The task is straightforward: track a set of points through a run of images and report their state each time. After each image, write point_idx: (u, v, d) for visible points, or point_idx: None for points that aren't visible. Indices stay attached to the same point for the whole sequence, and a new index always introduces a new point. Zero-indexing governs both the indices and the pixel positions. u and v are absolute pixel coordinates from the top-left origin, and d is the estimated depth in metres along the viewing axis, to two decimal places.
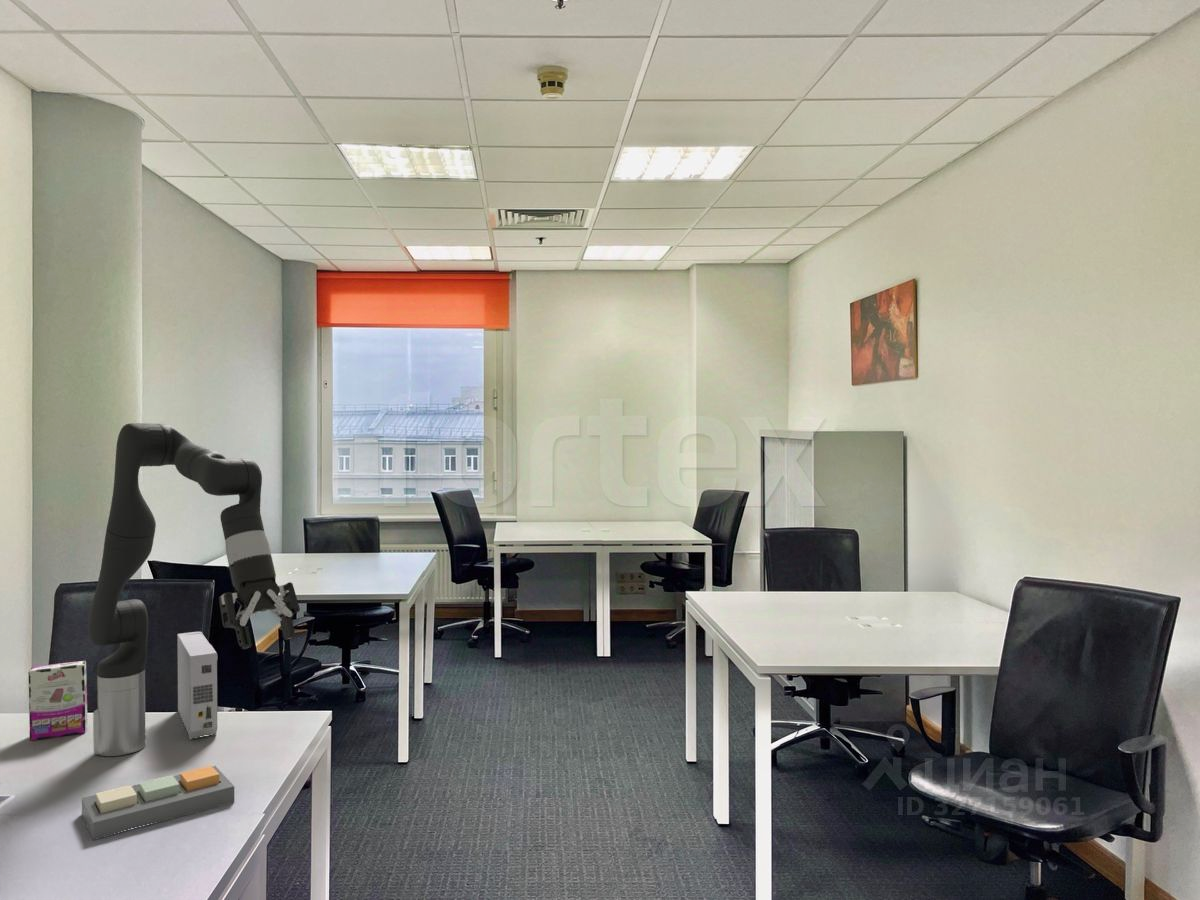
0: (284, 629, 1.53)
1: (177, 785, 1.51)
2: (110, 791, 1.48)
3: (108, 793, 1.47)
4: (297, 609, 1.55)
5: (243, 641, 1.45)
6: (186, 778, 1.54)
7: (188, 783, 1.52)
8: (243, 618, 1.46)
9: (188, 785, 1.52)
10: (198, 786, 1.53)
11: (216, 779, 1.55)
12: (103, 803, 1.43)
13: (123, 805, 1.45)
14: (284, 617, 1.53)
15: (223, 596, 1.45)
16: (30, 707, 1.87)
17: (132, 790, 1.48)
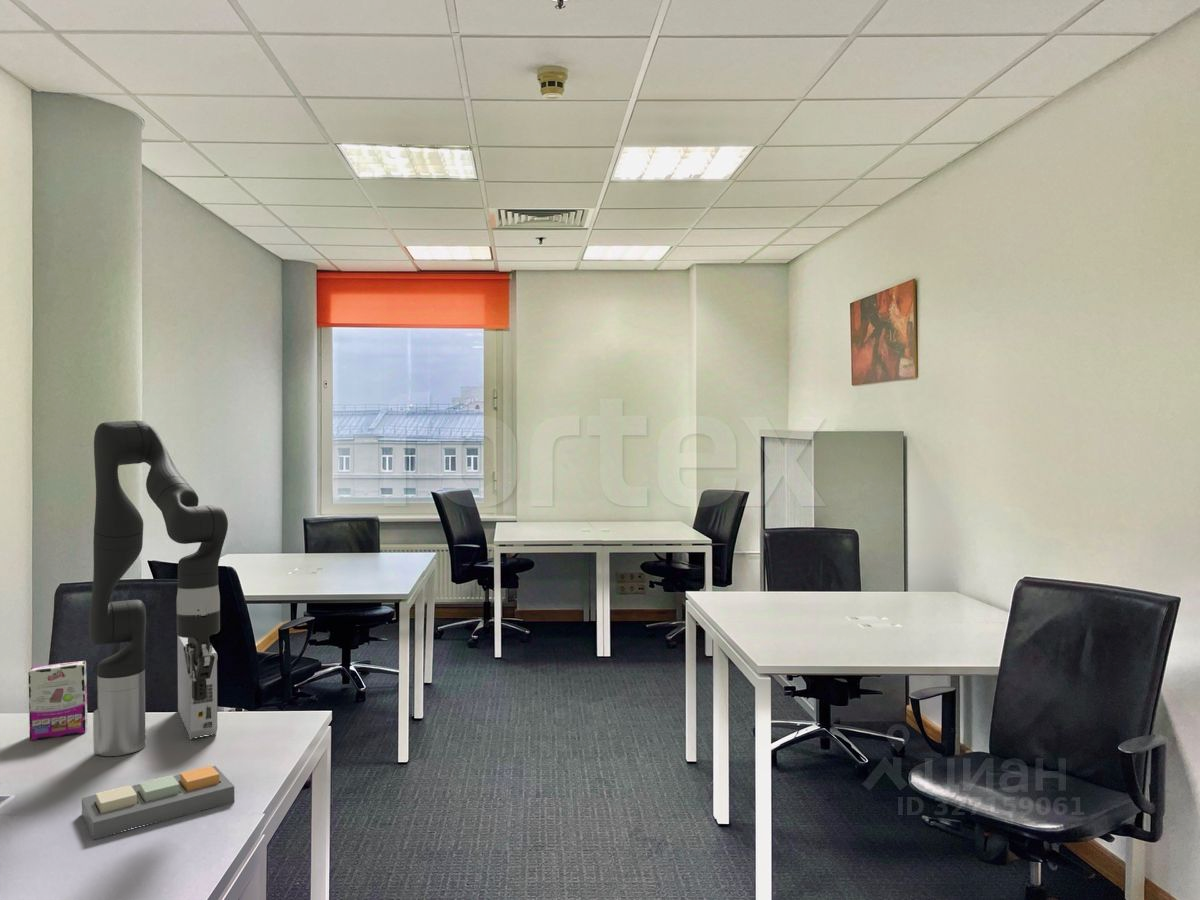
0: None
1: (177, 785, 1.51)
2: (110, 791, 1.48)
3: (108, 793, 1.47)
4: None
5: (204, 693, 1.55)
6: (186, 778, 1.54)
7: (188, 783, 1.52)
8: None
9: (188, 785, 1.52)
10: (198, 786, 1.53)
11: (216, 779, 1.55)
12: (103, 803, 1.43)
13: (123, 805, 1.45)
14: None
15: (209, 661, 1.51)
16: (30, 707, 1.87)
17: (132, 790, 1.48)
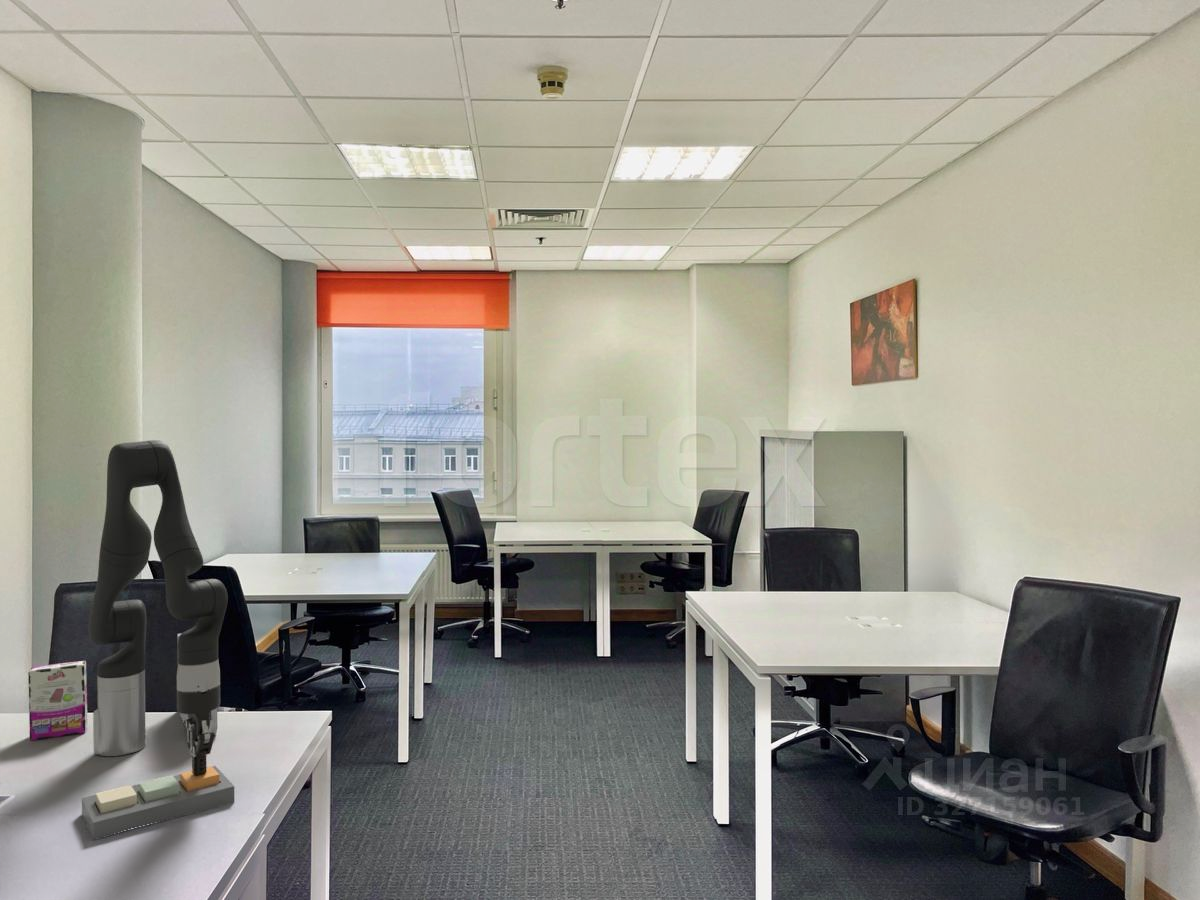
0: None
1: (177, 785, 1.51)
2: (110, 791, 1.48)
3: (108, 793, 1.47)
4: None
5: (204, 768, 1.55)
6: (186, 778, 1.54)
7: (188, 784, 1.52)
8: None
9: (188, 785, 1.52)
10: (198, 786, 1.53)
11: (216, 779, 1.55)
12: (103, 803, 1.43)
13: (123, 805, 1.45)
14: None
15: (209, 738, 1.51)
16: (30, 707, 1.87)
17: (132, 790, 1.48)
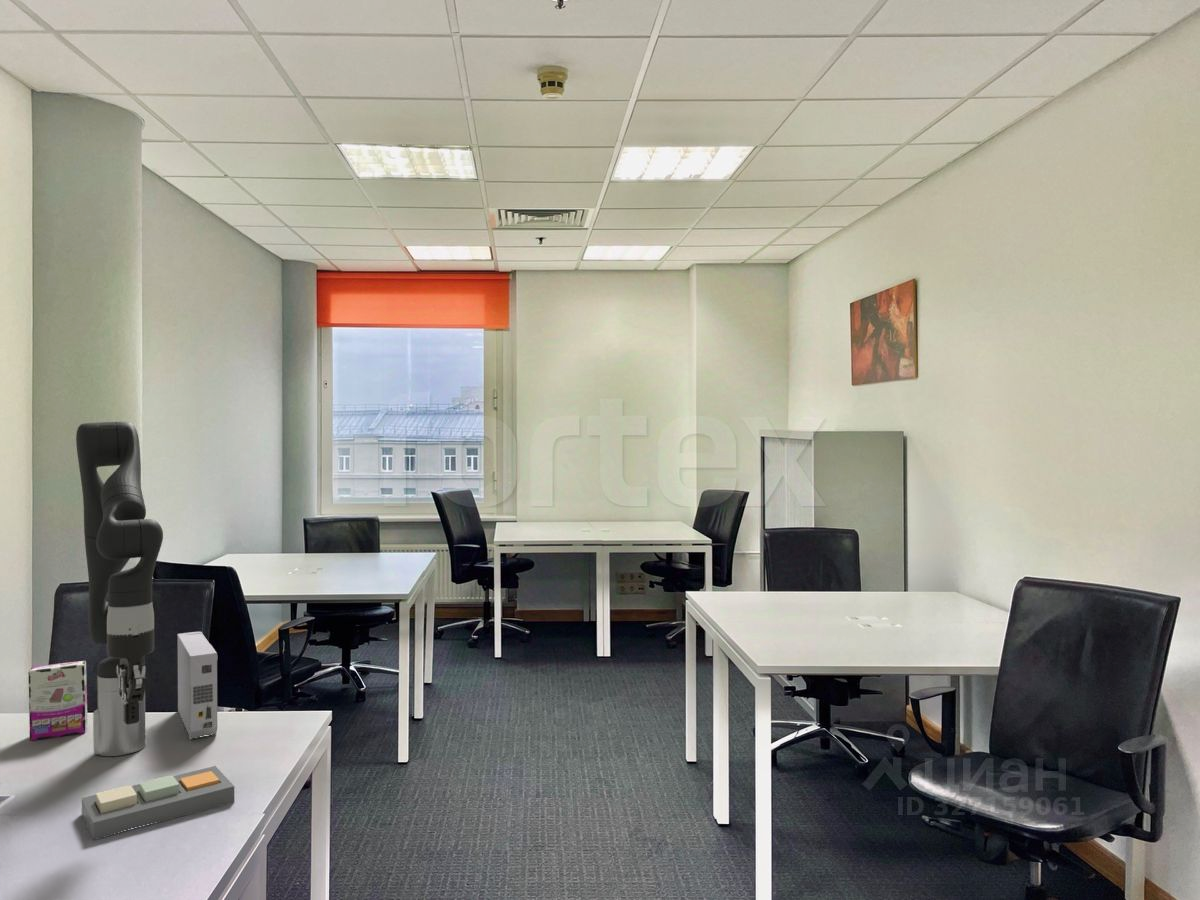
0: None
1: (177, 785, 1.51)
2: (110, 791, 1.48)
3: (108, 793, 1.47)
4: None
5: None
6: (186, 784, 1.54)
7: (189, 789, 1.52)
8: None
9: None
10: None
11: None
12: (103, 803, 1.43)
13: (123, 805, 1.45)
14: None
15: (141, 683, 1.44)
16: (30, 707, 1.87)
17: (132, 790, 1.48)
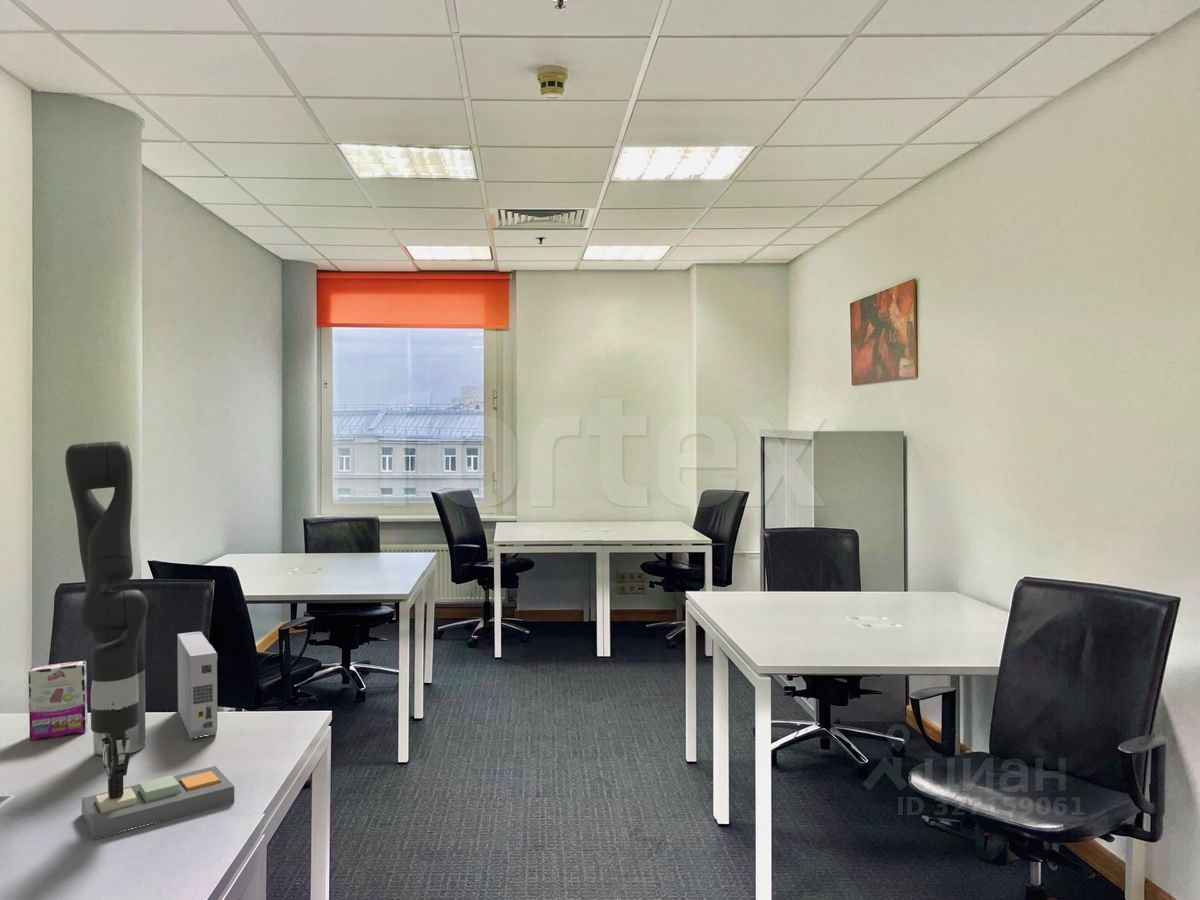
0: None
1: (177, 785, 1.51)
2: None
3: None
4: None
5: (121, 791, 1.46)
6: (186, 784, 1.54)
7: (189, 789, 1.52)
8: None
9: None
10: None
11: None
12: (103, 806, 1.43)
13: None
14: None
15: (124, 759, 1.42)
16: (30, 707, 1.87)
17: (132, 793, 1.48)
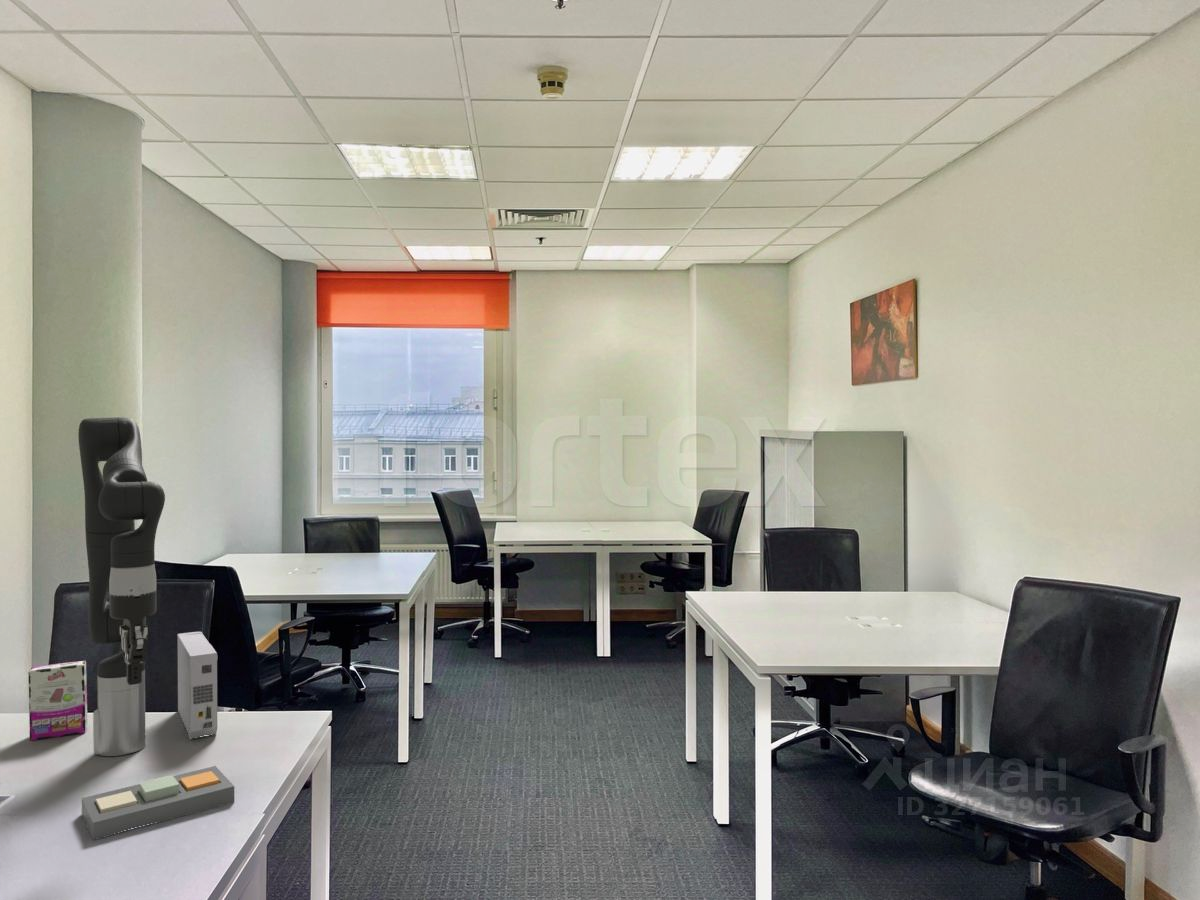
0: None
1: (177, 785, 1.51)
2: (110, 796, 1.48)
3: (108, 798, 1.47)
4: None
5: (139, 677, 1.49)
6: (186, 784, 1.54)
7: (189, 789, 1.52)
8: None
9: None
10: None
11: None
12: (103, 809, 1.43)
13: None
14: None
15: (142, 644, 1.45)
16: (30, 707, 1.87)
17: (132, 796, 1.48)
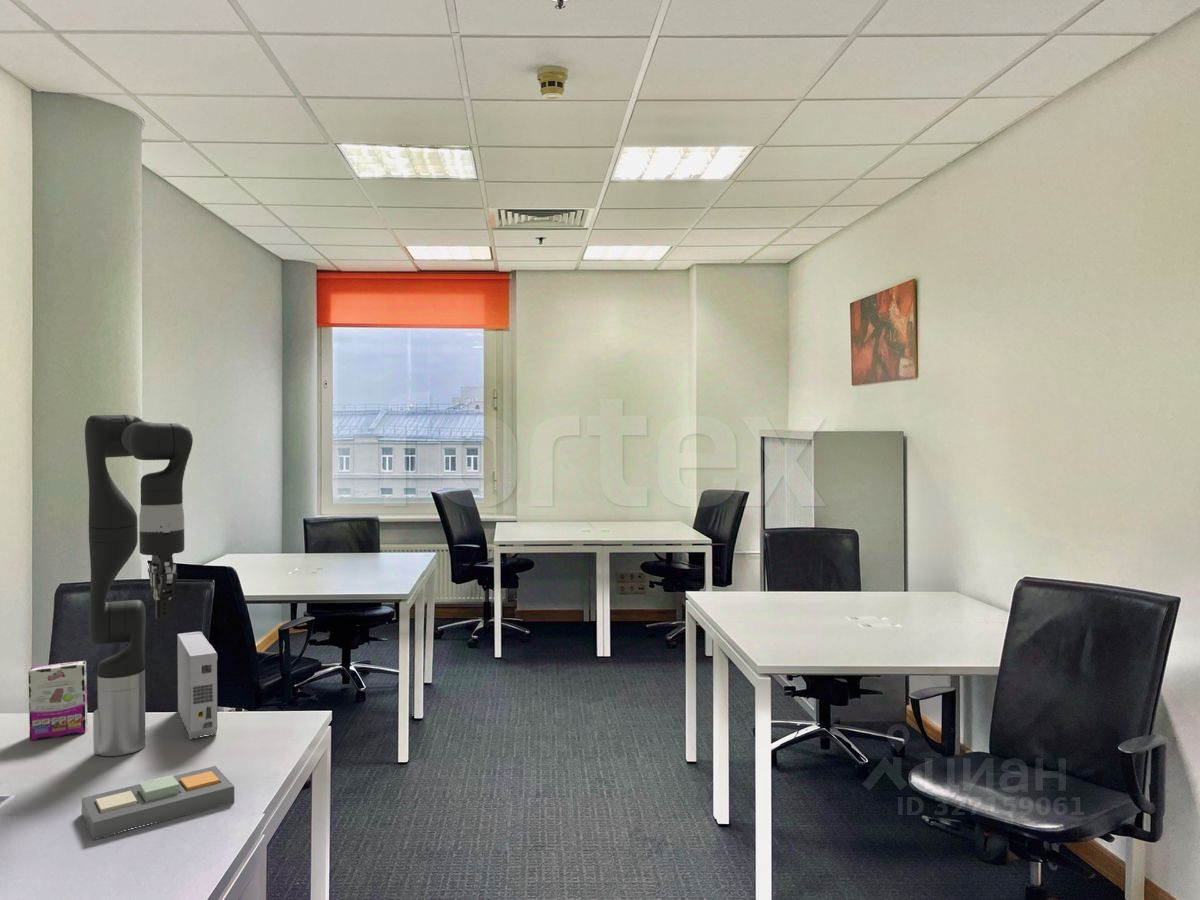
0: None
1: (177, 785, 1.51)
2: (110, 796, 1.48)
3: (108, 798, 1.47)
4: None
5: None
6: (186, 784, 1.54)
7: (189, 789, 1.52)
8: None
9: None
10: None
11: None
12: (103, 809, 1.43)
13: None
14: None
15: (172, 578, 1.49)
16: (30, 707, 1.87)
17: (132, 796, 1.48)
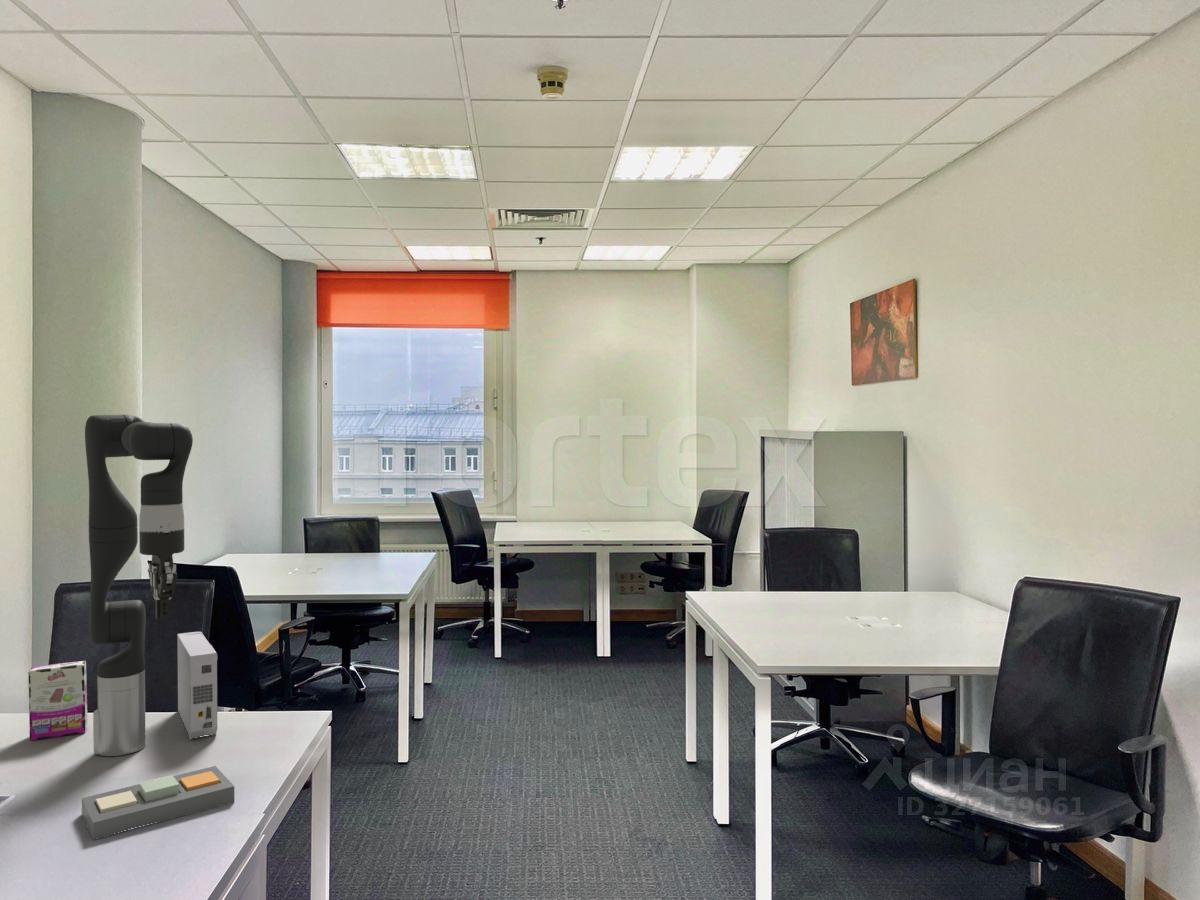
0: None
1: (177, 785, 1.51)
2: (110, 796, 1.48)
3: (108, 798, 1.47)
4: None
5: None
6: (186, 784, 1.54)
7: (189, 789, 1.52)
8: None
9: None
10: None
11: None
12: (103, 809, 1.43)
13: None
14: None
15: (172, 578, 1.49)
16: (30, 707, 1.87)
17: (132, 796, 1.48)
